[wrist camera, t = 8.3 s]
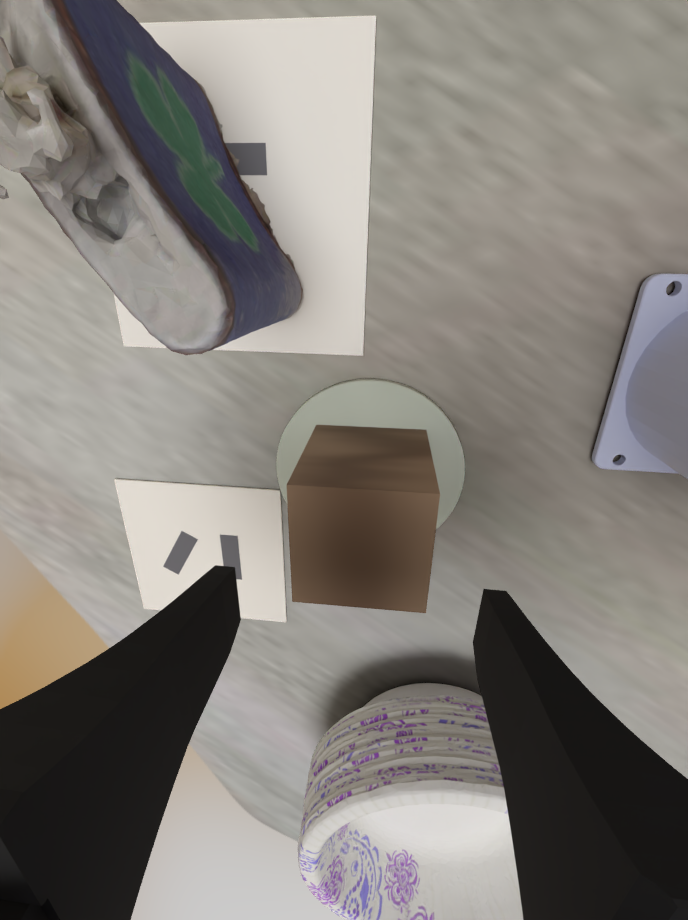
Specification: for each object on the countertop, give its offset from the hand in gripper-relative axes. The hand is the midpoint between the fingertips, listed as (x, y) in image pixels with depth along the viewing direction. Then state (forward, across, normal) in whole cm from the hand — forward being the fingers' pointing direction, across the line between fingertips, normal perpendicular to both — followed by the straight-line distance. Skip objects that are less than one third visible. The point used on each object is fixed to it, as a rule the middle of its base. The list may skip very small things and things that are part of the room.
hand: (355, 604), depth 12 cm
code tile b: (+9, +9, +6) cm, 14 cm away
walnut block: (+9, 0, 0) cm, 9 cm away
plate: (+9, 0, 0) cm, 9 cm away
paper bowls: (+10, -5, +19) cm, 22 cm away
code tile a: (+9, +6, -11) cm, 16 cm away
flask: (+9, +6, -11) cm, 16 cm away
